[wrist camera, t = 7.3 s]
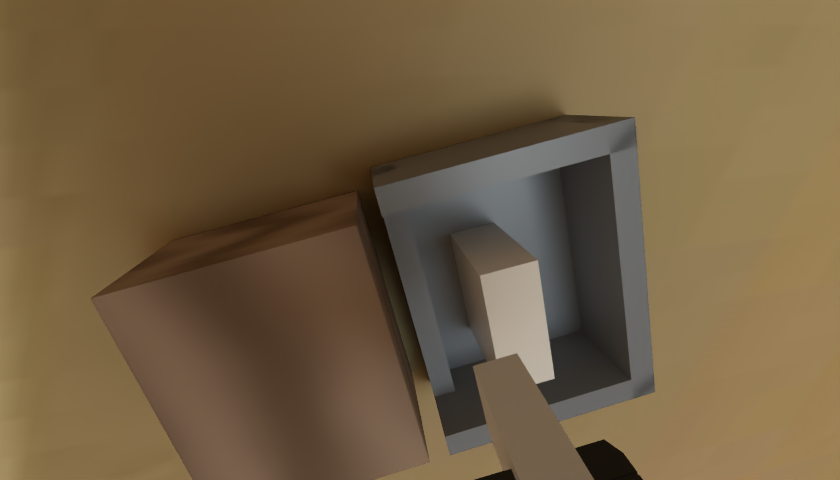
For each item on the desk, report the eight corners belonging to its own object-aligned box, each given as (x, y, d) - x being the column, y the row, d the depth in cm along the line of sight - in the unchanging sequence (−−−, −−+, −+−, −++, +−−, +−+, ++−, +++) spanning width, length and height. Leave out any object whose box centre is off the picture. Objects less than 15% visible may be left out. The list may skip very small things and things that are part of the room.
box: (566, 114, 23) (634, 117, 17) (593, 332, 27) (654, 392, 22) (370, 167, 22) (373, 188, 17) (431, 381, 27) (450, 455, 21)
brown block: (357, 190, 23) (356, 225, 16) (412, 373, 26) (429, 462, 20) (171, 240, 22) (90, 298, 15) (255, 419, 26) (219, 527, 19)
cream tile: (450, 233, 23) (493, 222, 23) (470, 328, 25) (510, 317, 25) (479, 275, 17) (537, 260, 17) (502, 393, 19) (554, 378, 19)
